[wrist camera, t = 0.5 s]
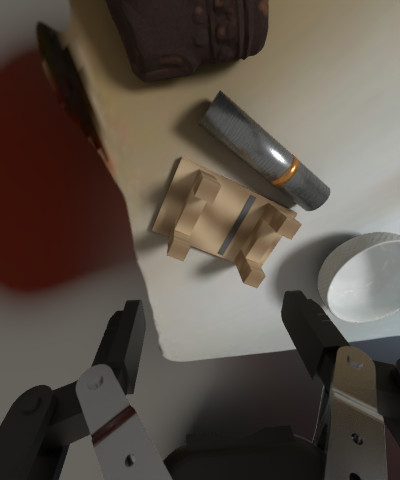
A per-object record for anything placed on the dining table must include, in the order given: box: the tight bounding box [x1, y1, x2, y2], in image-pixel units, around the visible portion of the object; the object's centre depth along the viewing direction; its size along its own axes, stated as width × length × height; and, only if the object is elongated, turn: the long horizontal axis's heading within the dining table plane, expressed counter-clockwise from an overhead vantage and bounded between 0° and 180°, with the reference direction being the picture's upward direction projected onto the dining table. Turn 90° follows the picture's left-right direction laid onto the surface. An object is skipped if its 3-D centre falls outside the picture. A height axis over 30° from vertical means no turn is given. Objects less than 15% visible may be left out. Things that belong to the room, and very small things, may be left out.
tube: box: [199, 90, 330, 211], centre depth 30 cm, size 20×4×4 cm, turn 55°
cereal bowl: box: [317, 232, 400, 323], centre depth 39 cm, size 17×17×7 cm
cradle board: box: [152, 157, 302, 288], centre depth 33 cm, size 12×20×8 cm, turn 64°
